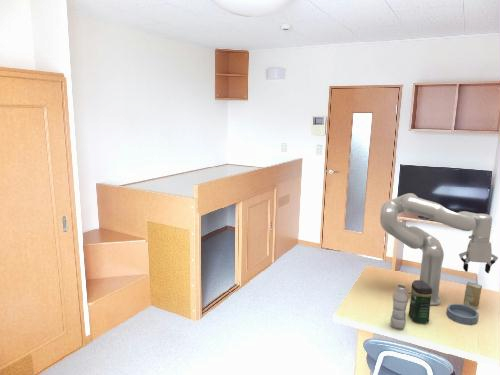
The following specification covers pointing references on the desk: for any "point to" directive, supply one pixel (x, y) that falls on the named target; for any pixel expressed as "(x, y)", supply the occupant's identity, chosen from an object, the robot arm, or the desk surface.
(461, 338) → the desk surface
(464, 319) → the slate bowl
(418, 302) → the coffee jar
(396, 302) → the plastic bottle
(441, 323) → the desk surface
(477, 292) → the skincare box
